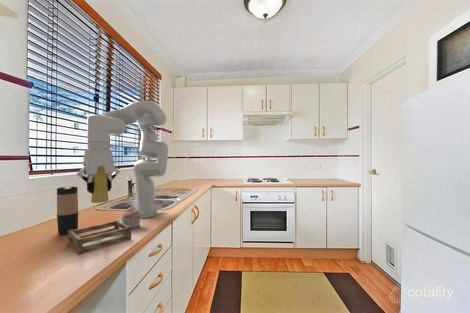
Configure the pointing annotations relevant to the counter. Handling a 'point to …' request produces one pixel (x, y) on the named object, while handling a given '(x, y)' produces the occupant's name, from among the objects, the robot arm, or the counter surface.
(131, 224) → the cupcake
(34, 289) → the counter surface
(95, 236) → the tray
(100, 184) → the vase
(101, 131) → the robot arm
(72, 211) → the travel mug
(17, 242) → the counter surface
